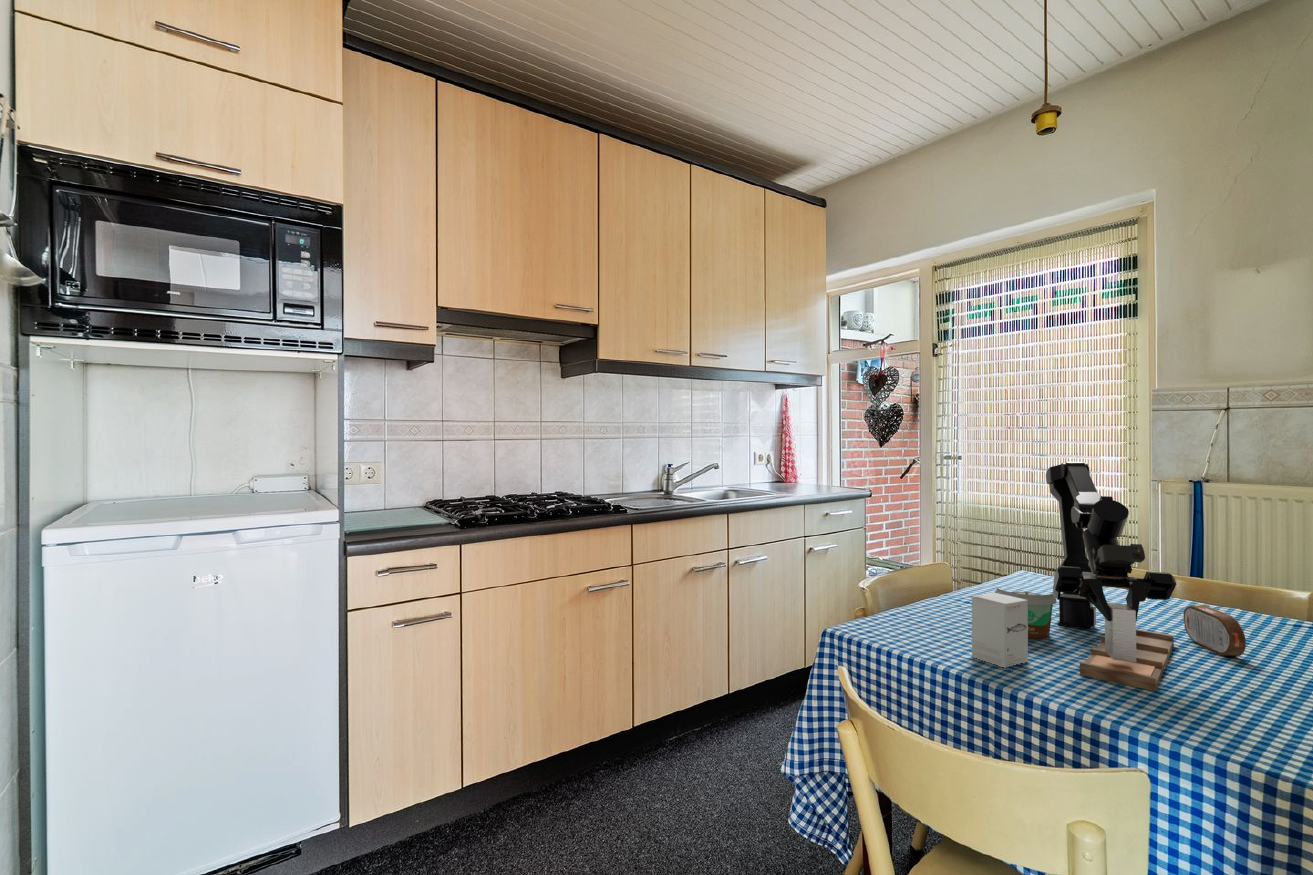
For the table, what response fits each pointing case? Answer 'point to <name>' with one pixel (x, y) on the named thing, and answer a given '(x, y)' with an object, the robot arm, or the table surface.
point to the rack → (1137, 674)
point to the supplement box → (1000, 629)
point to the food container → (1036, 612)
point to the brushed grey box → (1121, 633)
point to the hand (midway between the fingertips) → (1122, 621)
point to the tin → (1214, 630)
